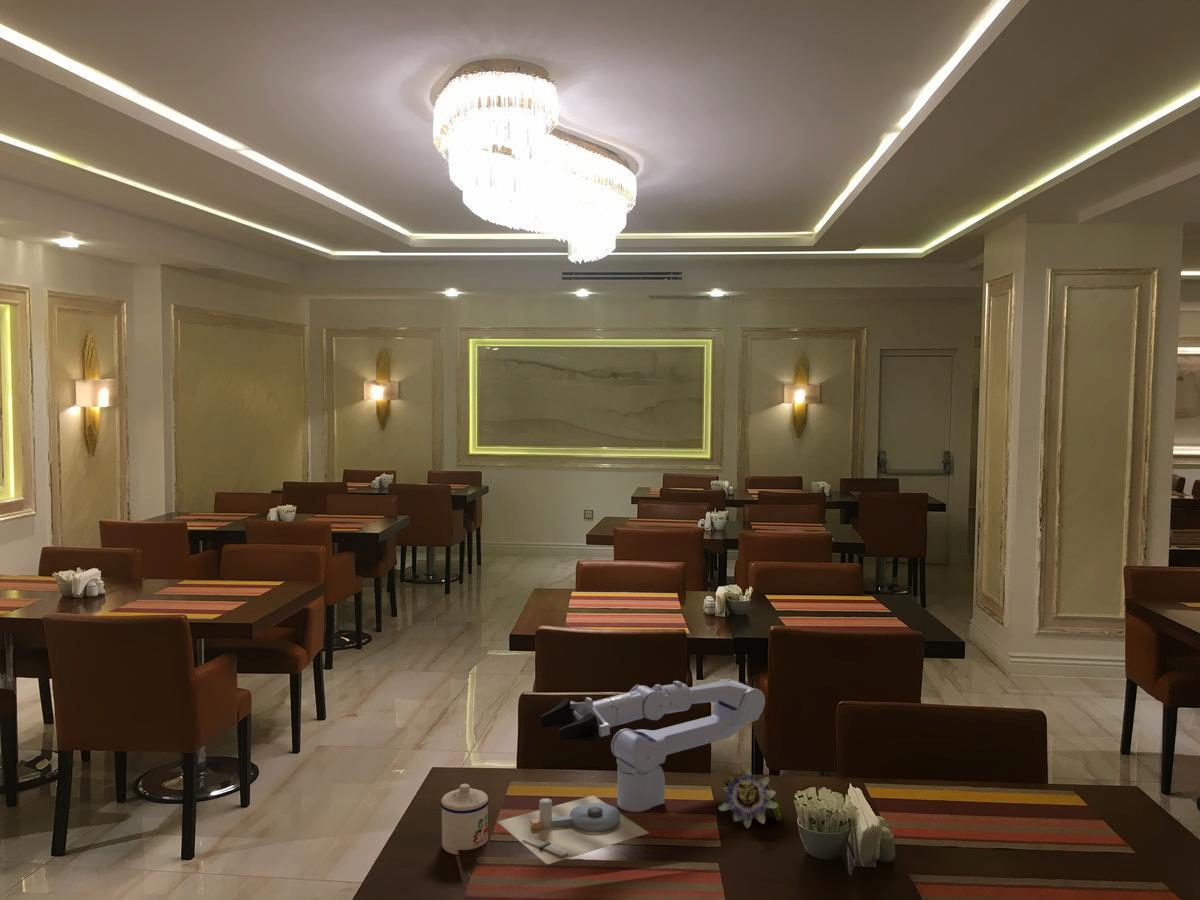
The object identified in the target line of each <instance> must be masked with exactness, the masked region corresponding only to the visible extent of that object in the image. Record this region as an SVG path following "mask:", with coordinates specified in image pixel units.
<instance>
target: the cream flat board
mask: <svg viewBox="0 0 1200 900" xmlns="http://www.w3.org/2000/svg"><path fill="white" fill-rule="evenodd" d="M588 803H602V804H607V803H606V802H605V801H603V800H601V799H600V798H598V797H597V796H596V795H590V796H586V797H583V798H578V799H574V800H572V801H568V802H567V801H566V802H564V803H561V804H557V805H552V817H560V816H568V815H570V812H571V810H572V809H574V808H575V807H577V806H580V805H583V804H588ZM537 818H539V809H538V810H534V811H531V812H528V813H524V814H520V815H516V816H512V817H510V818H505V819H501V820H497V821H496V822H497V823H498V824H499V825H500V826H501V827H503V828H504V830H506V831H507V832H508V833H509V834H510V835H512V837H514V838H515V839H516V840H517V841H519V842H520V843H521V844H522V845H523V846H525V848H527V849H528V850H529V851H531V853H533V854H534V855H535V856H536V857H537V858H539V860H541V861H542V862H543V863H544V864H546V865H551V864H554V863H557V862H560V861H563V860H567V859H569V858H573V857H574V858H575V857H577V856H579V855H584V854H586V853H589V852H592V851H596V850H599V849H603V848H605V847H609V846H612V845H615V844H618V843H621V842H625V841H628V840H631V839H635V838H637V837H641V836H644V835H647V834H650V832H649V831H648V830H646V829H644V828H643V827H641V826H640V825H638V824H637V823H636V822H634V821H633V820H631V819H629V818H628V817H627V816H625V815H623V814H622V813H621V812H620V823H619V825H618V826H616V827H615V828H613V829H610V830H607V831H601V832H590V831H584V830H580V829H577V828H575V827H574V826H573V825H566V826H558V827H551V828H548V829H535V830H533V829H532V826H531V819H537Z"/></svg>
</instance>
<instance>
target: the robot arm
mask: <svg viewBox="0 0 1200 900" xmlns="http://www.w3.org/2000/svg"><path fill="white" fill-rule="evenodd" d="M705 703H706V704H707V703H713V707H712V711H711V713H712V715H709V716H706V717H701V718H698V719H694V720H690V721H689V720H688V721H685V722H682V723H678V724H674V725H671V726H666V727H662V728H659V729H655V730H653V729H652V730H650V729H640V728H639V729H631V728H622V729H619V730H618V731H617V732H616V733H615V734H614V735H613V737H612V739H611V743H610V749H611V753H612V754H613V756H614V757H616V764H617V777H616V778H617V784H616V785H617V788H616V789H617V794H616V795H617V799H616V801H617V804H616V805H617V807H619V808H620V809H621V810H623V811H627V812H636V813H639V812H645V811H648V810H649V809H651V808H654V807H657V806H660V805H663V804H665V801H666V800H665V799H666V798H665V797H666V795H665V793H666V787H665V786H666V778H665V773H664V770H663V768H662V766H661V765H662V764H665V761H666V759H667V756H668V755H671V754H675V753H679V752H682V751H685V750H689V749H693V748H696V747H700V746H703V745H707V744H708V745H709V744H711V743H714V742H718V741H723V740H725V739H729V738H731V737H733V736H734V735H735V734H737V733H738V732H739V731H740V730H741V729H742V728H744V726H746V725H748V723H751V722H755V721H758V720H759V719H760V717H761V714H762V713H763V710H764V708H765V704H766V697H765V694H764V692H763V691H762V690H761V689H758V688H754V687H751V686H749V685H747V684H744V683H742V682H740V681H738V680H736V679H734V678H726V679H725V678H720V679H719V680H718V681H715V682H708V683H704V684H700V685H696V686H695V685H694V686H691V687H689V686H688V685H687V684H686V683H683V682H681V681H679V680H673V681H672V684H664V685H661V684H659V683H657V684H654V686H653V687H649V686H648V685H640V684H635V686H633V687H632V688H631V689H630V690H629V691H628V692H624V693H619V694H616V695H613V696H609V697H606V698H601V699H597V700H593V699H592V698H591V697H587V696H586V697H585V698H584V701H582V702H575V701H573V700H570V699H569V698H567V697H565V698H563V699H562V700H561V701H560V702H559V703H558V704H557V705H556V706H554V708H552V709H550V710H549V711H547V712H544V714H543V713H542V715H540V716H539V726H540V727H542V728H550V727H551V728H552V727H559V726H561V727H560V728H559V729H558V740H559V741H561V742H562V741H563V742H565V741H566V742H567V741H568V742H569V741H571V742H572V741H573V742H574V741H580V742H587V743H590V744H596V743H597V740H598V736H600V737H601V738H602V737H605V736H609V735H611V728H613V727H616V726H620V725H623V724H627V723H631V722H634V721H637V720H641V719H644V718H646V719H649V720H651V721H658V720H660V719H661V718H662V717H664V715H667V714H672V713H677V712H678V713H679V712H685V711H688V710H689V709H690V708H691V706H692V705H694V704H705ZM573 718H576V721H574V720H573ZM573 721H574V722H573Z"/></svg>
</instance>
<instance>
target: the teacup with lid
mask: <svg viewBox="0 0 1200 900" xmlns="http://www.w3.org/2000/svg"><path fill="white" fill-rule="evenodd" d="M489 803H490V799H489V797H488V794H487V793H485V792H484V791H483V790H481V789H480V790H479V789H475V788H471V786H470V785H469V784H468V783H462V784H460V785H459V787H458V788H457V789H454V790H451V791H449V792H447V793H445V794H444V795H443V796H442V798H441V800H440V803H439V804H440V807H441V840H442V841H441V846H442V849H443V850H444V851H445V852H447V853H449V854H452V855H456V856H459V855H460V854H459V851H467V850H474V849H477V848H479V847H481V846H483V845H485V844H486V843H487V842H488V839H489V833H488V832H489V831H488V830H489V822H488V819H489V816H488V814H489V813H488V812H489V810H488V809H489V807H488V806H489Z"/></svg>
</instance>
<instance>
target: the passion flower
mask: <svg viewBox="0 0 1200 900" xmlns="http://www.w3.org/2000/svg"><path fill="white" fill-rule="evenodd" d="M753 777H754V775H753V774H752V772H751V770H750V769H749V768H747V767H746V768H745V769H744V770H743V772H742V774H741V775H739V776H737V777H732V776H727V779H725V778H723V779H722V780H723V783H724V784H725V786H724V787H722V788H721V790H722V792H724V793H725V794H726V795H727V796H726V798H725V800H724V801H723V802H721V803H720V804H719V805H718V806H717V810H718V811H720V812H725V811H726V812H727V811H728V810H730V811H731V812H732V821H733V822H740V823H742V825H743V826H744V827H745V828H746V829H747V830H748V829H750V827H751V825H752V821H753V820H754V819H755V820H756V821H757V822H758V823H760V824H762V825H764V824H765V823H766V812H767V811H766V810H767V809H769V810H770V812H771V813H772V814H773V816H774V818H775V820H776V821H778V822H780V821H781V819H782V818H781V817H782V814H783V809H782V807H781V805H780V803H779V801H778V799H777V798H776V797H775V796H776V795H777V794H776V791H775V790H773V789H771V788H770V786H769V784H768V783H769V782H770V777H768V776H766V777H762V778H760V779H756V778H753Z"/></svg>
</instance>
